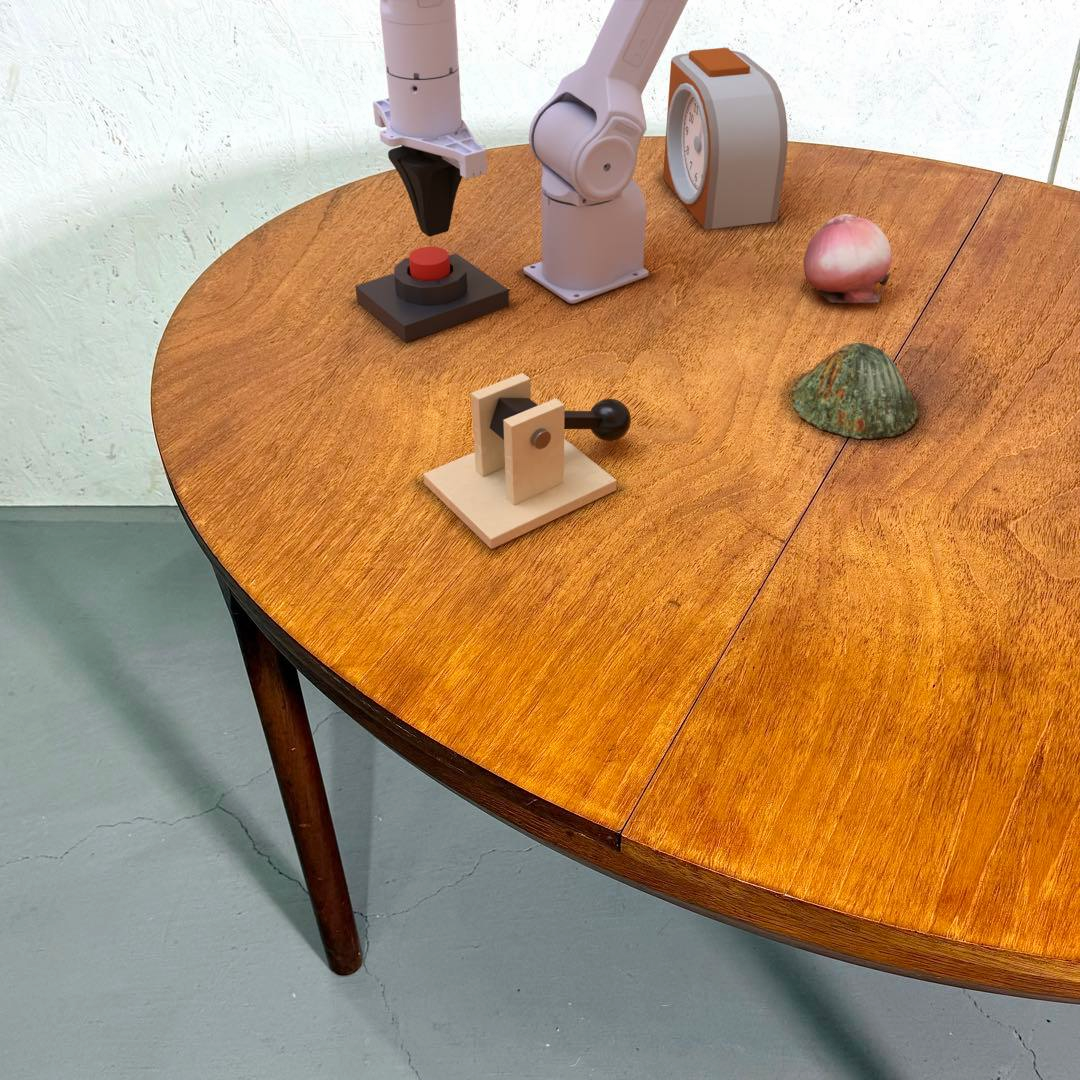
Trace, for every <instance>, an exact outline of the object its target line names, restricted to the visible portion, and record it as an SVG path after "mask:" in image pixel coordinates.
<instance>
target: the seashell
mask: <svg viewBox="0 0 1080 1080" xmlns="http://www.w3.org/2000/svg"><path fill="white" fill-rule="evenodd" d="M790 392H791V393H792V397H791V399H792V400H793V404H792V407H793V409H794V410H795V411H796V412H798V417H800V419H803V420H805V421H806V422H807V423H809V424H810V425H812V426H814V427H816V428H817V429H819V430H821V431H828V432H829V433H832V434H836V435H842V436H843V437H846V438H849V437H850V438H854V439H857V440H860V439H867V440H874V439H884V438H895V437H896V436H899V435H902V434H903V433H905V432H907V431H908V430H910V429H911V428H912V427H913V426H914V425H915V424H916V421H917V419H918V417H919V412H918V408H917V403H916V400H915V398H914V395H913V394H912V393H911V392H910V391H909V390H908V388H907V387H906V384H905V382H904V379H903V378H902V375H901V374H900V371H899V369H898V367H897V366H896V364H895V363H894V361H893V360H892V359H891V357H890V356H889V355H888V354H886V352H884V351H883V349H880V348H878V347H876V346H875V345H873V344H868V343H865V342H852V343H848V344H845V345H842V346H841V347H839V348H837V349H836V350H834V351H833V352H831V353H830V354H828V355H827V356H826V357H825V358H823V360H821V361H820V362H819V363H817V364H816V365H815V366H814V367H813V368H812V369H810V370H809V371H806V372H805V373H803V374H802V375H799V377H798V378H797V379H796V380H795V381H794V386H793V388H792V389H791V391H790Z"/></svg>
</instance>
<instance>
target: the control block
mask: <svg viewBox="0 0 1080 1080" xmlns="http://www.w3.org/2000/svg"><path fill="white" fill-rule="evenodd" d="M449 261H450V275H449V276H448V277H445V278H442V279H439V280H433V281H422V280H418V279H413V278H412V277H411V274H410V264H409V256H408V257H405V258H404V259H402V260H401V261H399V262H398V263H397V264H396V265H395V266H394V268H393V273H391V274H388V275H384V276H381V277H378V278H375V279H372V280H368V281H365V282H363V283H360V284H357V285H355V295H356V302H357V303H358V304H359V305H360V306H361V307H363V308H364V309H365V310H366V311H367V312H368V313H370V314H371V315H372V316H374V318H376V319H377V320H378V321H380V322H381V323H382V324H383V325H384V326H385V327H386V328H388V329H389V330H390V331H391V332H393V333H394V334H395V335H396V336H397V337H398V338H400V339H401V340H402V341H403V342H404V343H406V344H407V343H409V342H413V341H415V340H418V339H420V338H424V337H426V336H429V335H431V334H435V333H437V332H440V331H443V330H446V329H448V328H452V327H454V326H456V325H457V326H458V325H460V324H463V323H465V322H468V321H471V320H474V319H476V318H478V317H482V316H485V315H488V314H490V313H493V312H496V311H498V310H501V309H505V308H507V307H510V291H509V288H507V287H506V286H504V285H502V284H501V282H498V281H497V280H496V279H494V278H493V277H491V276H490V275H489V274H487V273H486V272H485V271H483V270H481V269H480V268H479V267H477V266H476V265H474V264H473V263H471V262H470V261H468V260H467V259H465V258H464V257H462V256H461V255H460V254H459V253H452V254H449Z"/></svg>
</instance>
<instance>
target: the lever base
mask: <svg viewBox="0 0 1080 1080" xmlns="http://www.w3.org/2000/svg"><path fill="white" fill-rule="evenodd" d="M531 387H532V386H531V378H530V377H529V376H528V375H527V374H525V373H524V372H521V373H518V374H516V375H513V376H510V377H507V378H506V379H503V380H500V381H498V382H496V383H493V384H490V385H488V386H485V387H482V388H480V389H478V390H475V391H473V392H471V394H470V396H471V413H472V431H473V447H474V449H473V450H474V451H473V452H471V453H469V454H466V455H464V456H461V457H459V458H457V459H454V460H452V461H450V462H447V463H445V464H442V465H440V466H437V467H436V468H433V469H430V470H428V471H426V472H424V473H423V475H422V476H423V485H424V486H426V487H427V488H428V489H429V490H430V491H431V492H432V493H433V494H434V495H435V497H437V498H438V499H439V500H440V501H441V502H442V503H443V504H444V505H445V506H447V508H448V509H450V511H451V512H452V513H453V514H454V515H455V516H456V517H458V518H459V520H461V522H463V524H465V525H466V526H467V527H468V528H469V529H470V530H471V531H472V532H473V533H474V534H475V535H476V536H477V538H479V539H480V540H481V541H482V542H483V543H484V544H485V545H486V546H487V547H488V548H489V549H490V550H493V549H495V548H498V547H500V546H502V545H504V544H506V543H508V542H510V541H512V540H514V539H516V538H518V537H521V536H523V535H525V534H527V533H529V532H532V531H534V530H536V529H537V528H538V529H539V528H540V527H542V526H544V525H546V524H548V523H551V522H552V521H554V520H556V519H559V518H560V517H563V516H565V515H567V514H569V513H571V512H573V511H576V510H578V509H579V508H582V507H584V506H586V505H588V504H590V503H593V502H595V501H597V500H598V499H601V498H603V497H605V496H607V495H610V494H611V493H614V492H615V491H617V479H616V478H615V477H613V476H612V475H611V474H609V473H608V472H607V471H606V470H604V468H602V467H601V466H600V465H598V464H597V463H596V462H595V461H593V460H592V459H591V458H589V456H587V455H586V454H585V453H584V452H582V451H581V450H580V449H578V448H577V447H576V446H575V445H574V444H573V443H571V442H570V441H568V440H567V439H566V438H565V429H564V411H565V410H566V409H565V406H566V405H565V403H563V402H562V401H561V400H559V399H558V398H557V397H555V398H553V399H550V400H548V401H546V402H543V403H540V404H537V405H538V406H536V407H533V408H531V409H528V410H526V411H524V412H521V413H519V414H516V415H514V416H512V417H509V418H507V419H504V420H503V421H504V440H503V439H502V438H501V437H499V436H498V435H497V434H496V433H495V432H494V431H492V430H491V429H490V428H489V427H490V424H491V421H492V418H493V414H494V411H495V408H496V405H497V402H498V399H499V398H529V399H531V400H532V394H531V393H532V392H531V391H532V390H531Z"/></svg>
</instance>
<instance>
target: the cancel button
mask: <svg viewBox="0 0 1080 1080" xmlns="http://www.w3.org/2000/svg"><path fill="white" fill-rule="evenodd" d="M449 255H450V253H449V252H448V251H447V250H446V249H444V248H443V247H439V246H423V247H418V248H416V249H414V250H412V251H411V252H410V253H409V255H408V257H409V264H410V274H411V277H412V278H413V279H418V280H422V281H433V280H439V279H442V278H445V277H448V276H449V275H450V261H449Z"/></svg>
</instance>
